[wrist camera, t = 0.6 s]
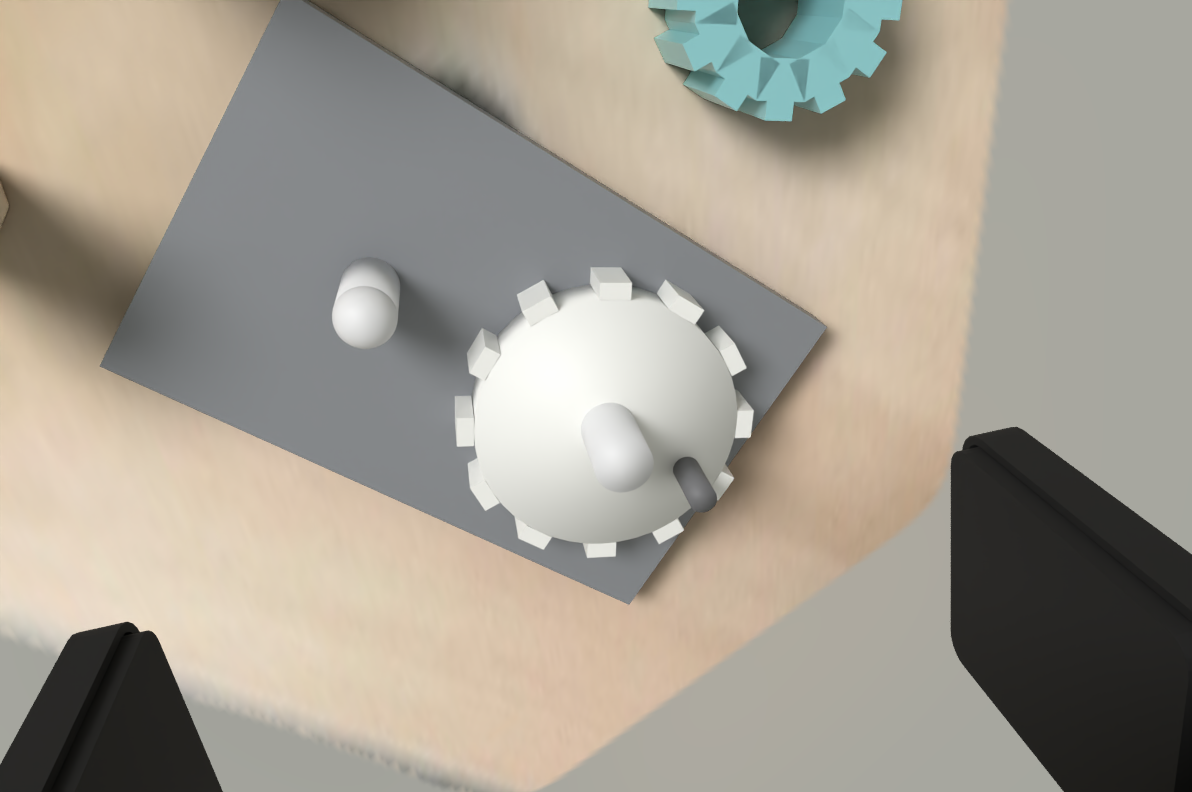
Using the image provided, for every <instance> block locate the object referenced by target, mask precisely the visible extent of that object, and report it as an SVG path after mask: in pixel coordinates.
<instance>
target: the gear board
mask: <svg viewBox="0 0 1192 792" xmlns="http://www.w3.org/2000/svg"><path fill="white" fill-rule="evenodd" d="M826 328H827V327H826V326H825V325H824V324H823V323H822V322H820V321H819V320H818V319H817V318H816V317H814V316H813V315H812V314H810V313H809V312H807V311H805V310H804V309H802V308H801V307H799V306H797V305H796V304H794V303H793V302H791V301H789V300H788V299H786V298H785V297H783V296H781V295H780V294H778V293H777V292H775V291H773V290H772V289H770V288H768V287H767V286H765V285H764V284H762V283H760V282H759V281H757V280H756V279H754V278H752V277H751V276H749V275H748V274H746V273H744V272H743V271H741V270H740V269H738V268H736V267H735V266H733V265H732V264H730V263H728V262H727V261H725V260H724V259H722V258H720V257H719V256H717V255H716V254H714V253H712V252H711V251H709V250H707V249H706V248H704V247H703V246H701V245H699V244H698V243H696V242H695V241H693V240H691V239H690V238H688V237H687V236H685V235H683V234H682V233H680V232H679V231H677V230H675V229H674V228H672V227H671V226H669V225H667V224H666V223H664V222H663V221H661V220H659V219H658V218H656V217H655V216H653V215H651V214H650V213H648V212H647V211H645V210H643V209H642V208H640V207H638V206H637V205H635V204H634V203H632V202H630V201H629V200H627V199H626V198H624V197H622V196H621V195H619V194H618V193H616V192H614V191H613V190H611V189H610V188H608V187H606V186H605V185H603V184H602V183H600V182H598V181H597V180H595V179H594V178H592V177H590V176H589V175H587V174H586V173H584V172H582V171H581V170H579V169H578V168H576V167H574V166H573V165H571V164H569V163H568V162H566V161H565V160H563V159H561V158H560V157H558V156H557V155H555V154H553V153H552V152H550V151H549V150H547V149H545V148H544V147H542V146H541V145H539V144H537V143H536V142H534V141H533V140H531V139H529V138H528V137H526V136H525V135H523V134H521V133H520V132H518V131H517V130H515V129H513V128H512V127H510V126H508V125H507V124H505V123H504V122H502V121H500V120H499V119H497V118H496V117H494V116H492V115H491V114H489V113H488V112H486V111H484V110H483V109H481V108H480V107H478V106H476V105H475V104H473V103H472V102H470V101H468V100H467V99H465V98H464V97H462V96H460V95H459V94H457V93H456V92H454V91H452V90H451V89H449V88H448V87H446V86H444V85H443V84H441V83H439V82H438V81H436V80H435V79H433V78H431V77H430V76H428V75H427V74H425V73H423V72H422V71H420V70H419V69H417V68H415V67H414V66H412V65H411V64H409V63H407V62H406V61H404V60H403V59H401V58H399V57H398V56H396V55H395V54H393V53H391V52H390V51H388V50H387V49H385V48H383V47H382V46H380V45H379V44H377V43H375V42H374V41H372V40H370V39H369V38H367V37H366V36H364V35H362V34H361V33H359V32H358V31H356V30H354V29H353V28H351V27H350V26H348V25H346V24H345V23H343V22H342V21H340V20H338V19H337V18H335V17H334V16H332V15H330V14H329V13H327V12H326V11H324V10H322V9H321V8H319V7H318V6H316V5H314V4H313V3H311V2H309V1H308V0H280V2H279V4H278V6H277V8H276V10H275V12H274V14H273V16H272V18H271V20H270V22H269V24H268V26H267V28H266V30H265V32H264V34H263V36H262V38H261V40H260V42H259V44H258V46H257V48H256V50H255V52H254V54H253V56H252V59H251V61H250V63H249V65H248V67H247V69H246V71H245V73H244V75H243V77H242V79H241V81H240V83H239V85H238V87H237V89H236V91H235V93H234V95H233V97H232V99H231V101H230V103H229V105H228V107H227V109H226V111H225V113H224V115H223V117H222V119H221V121H220V123H219V125H218V127H217V129H216V131H215V133H214V135H213V138H212V140H211V142H210V144H209V146H208V148H207V150H206V152H205V154H204V156H203V158H202V160H201V162H200V164H199V166H198V168H197V170H196V172H195V174H194V176H193V178H192V180H191V182H190V184H189V186H188V188H187V190H186V192H185V194H184V196H183V198H182V200H181V202H180V204H179V206H178V208H177V210H176V212H175V215H174V217H173V219H172V221H171V223H170V225H169V227H168V229H167V231H166V233H165V235H164V237H163V239H162V241H161V243H160V245H159V247H158V249H157V251H156V253H155V255H154V257H153V259H152V261H151V263H150V265H149V267H148V269H147V271H146V273H145V275H144V277H143V279H142V281H141V283H140V285H139V287H138V289H137V291H136V294H135V296H134V298H133V300H132V302H131V304H130V306H129V308H128V310H127V312H126V314H125V316H124V318H123V320H122V322H121V324H120V326H119V328H118V330H117V332H116V334H115V336H114V338H113V340H112V342H111V344H110V346H109V348H108V350H107V352H106V354H105V356H104V358H103V360H102V362H101V364H100V367H102V368H105V369H107V370H109V371H111V372H113V373H116V374H118V375H120V376H122V377H125V378H127V379H129V380H131V381H133V382H136V383H138V384H140V385H142V386H144V387H147V388H149V389H151V390H153V391H156V392H158V393H160V394H162V395H164V396H167V397H169V398H171V399H173V400H176V401H178V402H180V403H182V404H184V405H187V406H189V407H191V408H193V409H196V410H198V411H200V412H202V413H204V414H207V415H209V416H211V417H213V418H216V419H218V420H220V421H222V422H224V423H227V424H229V425H231V426H233V427H236V428H238V429H240V430H242V431H244V432H247V433H249V434H251V435H253V436H256V437H258V438H260V439H262V440H264V441H267V442H269V443H271V444H273V445H276V446H278V447H280V448H282V449H284V450H287V451H289V452H291V453H293V454H296V455H298V456H300V457H302V458H304V459H307V460H309V461H311V462H313V463H315V464H318V465H320V466H322V467H324V468H327V469H329V470H331V471H333V472H335V473H338V474H340V475H342V476H344V477H347V478H349V479H351V480H353V481H355V482H358V483H360V484H362V485H364V486H367V487H369V488H371V489H373V490H375V491H378V492H380V493H382V494H384V495H387V496H389V497H391V498H393V499H395V500H398V501H400V502H402V503H404V504H407V505H409V506H411V507H413V508H415V509H418V510H420V511H422V512H424V513H427V514H429V515H431V516H433V517H435V518H438V519H440V520H442V521H444V522H447V523H449V524H451V525H453V526H455V527H458V528H460V529H462V530H464V531H467V532H469V533H471V534H473V535H475V536H478V537H480V538H482V539H484V540H487V541H489V542H491V543H493V544H495V545H498V546H500V547H502V548H504V549H506V550H509V551H511V552H513V553H515V554H518V555H520V556H522V557H524V558H526V559H529V560H531V561H533V562H535V563H538V564H540V565H542V566H544V567H546V568H549V569H551V570H553V571H555V572H558V573H560V574H562V575H564V576H566V577H569V578H571V579H573V580H575V581H578V582H580V583H582V584H584V585H586V586H589V587H591V588H593V589H595V590H598V591H600V592H602V593H604V594H606V595H609V596H611V597H613V598H615V599H618V600H620V601H622V602H624V603H626V604H630V603H631V601H632V600H633V599H634V597H635V596H636V594H637V593H638V592H639V590H640V589H641V587H642V586H643V585H644V583H645V582H646V580H647V579H648V578H649V576H650V575H651V573H652V572H653V571H654V569H655V568H656V566H657V565H658V564H659V562H660V561H661V559H662V558H663V557H664V555H665V554H666V552H667V551H668V550H669V548H670V547H671V545H672V544H673V542H674V541H675V540H676V538H677V537H678V535H679V534H680V533H681V532H682V531H684V529H683V528H684V527H685V526H686V524H687V523H688V521H689V520H690V519H691V517H692V516H693V514H694V513H695V512H707V511H709V510H711V509H712V508H713V507H714V506H715V504H716V502H717V501H718V500H719V499H720V498H721V496H722V495H723V493H724V492H725V491H726V489H727V488H728V487H729V485H730V484H731V482H732V481H733V480H734V477H733V475H732V474H731V472H730V470H729V469H728V465H729V464H730V463H731V461H732V460H733V458H734V457H735V456H736V454H737V453H738V451H739V450H740V449H741V447H742V446H743V444H744V443H745V442H746V440H747V439H748V438H751V433H752V432H753V430H754V429H755V428H756V426H757V425H758V423H759V422H760V421H761V419H762V418H763V416H764V415H765V413H766V412H767V411H768V409H769V408H770V406H771V405H772V404H773V402H774V401H775V399H776V398H777V397H778V395H779V394H780V392H781V391H782V390H783V388H784V387H785V385H786V384H787V383H788V381H789V380H790V378H791V377H792V376H793V374H794V373H795V371H796V370H797V369H798V367H799V366H800V364H801V363H802V362H803V360H804V359H805V357H806V356H807V355H808V353H809V352H810V350H811V349H812V348H813V346H814V345H815V343H816V342H817V341H818V339H819V338H820V336H821V335H822V334H823V332H824V331H825V329H826Z"/></svg>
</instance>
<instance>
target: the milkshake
mask: <svg viewBox="0 0 1192 792" xmlns="http://www.w3.org/2000/svg"><path fill="white" fill-rule="evenodd" d="M8 208H9V204H8V201H7V198H6V195H5V193H4V190H3V187H2V184H1V181H0V229H1V226H2V223H3V221H4V218H5V216H6V213H7V210H8Z"/></svg>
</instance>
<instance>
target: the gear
mask: <svg viewBox="0 0 1192 792" xmlns="http://www.w3.org/2000/svg"><path fill="white" fill-rule="evenodd" d="M901 7H902V0H798V9H797V15H796V17H795V18H794V20H793V22H792V23H791V25H790V26H789V28H788V29H787V31H786V32H785V34H784V36H783V37H782V38H781V39H780V40H778V41H776V42H774V43H773V44H771V45H769V46H767V47H765V48H764V49H762V50H760V49H759V48H758V47H756V46H755V45H753V44H752V43H751V42H749V40H748V38H747V35H746V33H745V31H744V28H743V26H742V23H741V21H740V18H739V16H738V14H737V10H738V0H649V5H648V8H659V9H666V10H665V21H666V23H667V26H668V28H669V30H667V31H666V32H664V33H662V34H660V35H658V36H657V37H655V38H654V40H655V42H656V44H657V46H658V48H659V51H660V53H661V55H662V57H663V59H664V62H665V63H668V64H671V65H675V66H678V67H681V68H685V69H688V70H691V72H690V74H689V76H688V77H687V79H686V80H685V82H684V84H683V85H685V86H686V87H688V88H689V89H690V90H692V91H693V92H695V93H696V94H698V95H699V96H701V97H702V98H704V99H706V100H709V101H711V102H714V103H717V104H719V105H722V106H724V107H727V108H729V109H732V110H735V111H737V110H739V111H741V112H744V113H746V114H749V115H752V116H754V117H757V118H760V119H762V120H765V121H792V115H793V106H798V107H801V108H804V109H807V110H811V111H814V112H817V113H820V114H822V113H823V112H825V111H827V110H829V109H831V108H832V107H834V106H836V105H838V104H840V103H841V102H843V101H845V100H846V99H845V96H844V94H843V91H842V88H841V86H840V82H842V81H843V80H845V79H847V78H849V77H850V75H851V74H853V75H858V76H864V77H869V78H870V77H871V75H872V74H873V72H874V71H875V69H876V68H877V66H878V65H879V63H880V62H881V60H882V59H883V57H884V56H885V54H886V53H887V52H886V51H884V50H883V49H882V48H880V47H879V46H878V45H877V44H875V43H874V42H873V41H874V39H875V38H876V36H877V35H878V33H879V31H880V26H881V20H900V13H901Z"/></svg>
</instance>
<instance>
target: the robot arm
mask: <svg viewBox="0 0 1192 792" xmlns="http://www.w3.org/2000/svg"><path fill="white" fill-rule="evenodd" d="M951 637H952V642H953V646H954V649H955V651H956V653H957V656H958V658H959V660H960V661H961V663H962V664H963V665H964V667H965V668H966V669H967V670H968V672H969V673H970V674H971V676H973V678H974V679H975V681H976V682H977V683H978V684H979V686H980V687H981V688H982V689H983V691H984V692H985V693H986V694H987V696H988V697H989V698H990V699H991V701H992V702H993V703H994V704H995V706H996V707H997V708H998V710H999V711H1000V712H1001V713H1002V714H1003V716H1004V717H1005V718H1006V719H1007V721H1008V722H1009V723H1010V725H1011V726H1012V727H1013V728H1014V729H1015V731H1016V732H1017V733H1018V735H1019V736H1020V737H1021V738H1022V740H1023V741H1024V742H1025V743H1026V745H1027V746H1028V747H1029V748H1030V750H1031V751H1032V752H1033V753H1034V755H1035V756H1036V757H1037V758H1038V760H1039V761H1040V762H1041V764H1042V765H1043V766H1044V767H1045V769H1046V770H1047V771H1048V772H1049V774H1050V775H1051V776H1052V777H1053V779H1054V780H1055V781H1056V782H1057V784H1058V785H1059V786H1060V787H1061V789H1062V790H1063V791H1064V792H1192V554H1190V553H1189V552H1188V551H1186V550H1185V549H1184V548H1182V547H1181V546H1180V545H1178V544H1177V543H1176V542H1174V541H1173V540H1171V539H1170V538H1169V537H1167V536H1166V535H1165V534H1163V533H1162V532H1161V531H1159V530H1158V529H1157V528H1155V527H1154V526H1153V525H1151V524H1150V523H1148V522H1147V521H1146V520H1144V519H1143V518H1141V517H1140V516H1139V515H1138V514H1136V513H1135V512H1134V511H1132V510H1131V509H1129V508H1128V507H1127V506H1125V505H1124V504H1123V503H1121V502H1120V501H1119V500H1117V499H1116V498H1115V497H1113V496H1112V495H1111V494H1109V493H1108V492H1106V491H1105V490H1104V489H1102V488H1101V487H1100V486H1098V485H1097V484H1096V483H1094V482H1093V481H1091V480H1090V479H1089V478H1088V477H1086V476H1084V475H1083V474H1082V473H1081V472H1079V471H1078V470H1077V469H1075V468H1074V467H1073V466H1071V465H1070V464H1069V463H1067V462H1066V461H1064V460H1063V459H1062V458H1060V457H1059V456H1058V455H1056V454H1055V453H1054V452H1052V451H1051V450H1050V449H1048V448H1047V447H1046V446H1044V445H1043V444H1041V443H1040V442H1039V441H1037V440H1036V439H1035V438H1033V437H1032V436H1030V435H1029V434H1028V433H1027V432H1025V431H1024V430H1022V429H1020V428H1018V427H1010V428H1006V429H1002V430H997V431H992V432H987V433H983V434H978V435H974V436H970V437H968V438H967V439H966V440H965V442H964V445H963V450H962V451H957V452H956V453H954V454H953V457H952V460H951ZM0 792H223V791H222V789H221V786H220V784H219V782H218V780H217V777H216V775H215V772H214V770H213V768H212V765H211V763H210V760H209V758H208V756H207V753H206V751H205V749H204V746H203V744H202V742H201V739H200V737H199V735H198V732H197V730H196V727H195V725H194V723H193V720H192V718H191V716H190V713H189V711H188V708H187V706H186V704H185V701H184V699H183V697H182V694H181V692H180V690H179V687H178V685H177V682H176V680H175V678H174V675H173V673H172V671H171V668H170V666H169V664H168V661H167V659H166V656H165V654H164V652H163V649H162V647H161V645H160V642H159V640H158V638H157V637H156V635H155V634H154V633H153V632H152V631H144V632H139V630H138V628H137V627H136V626H135V625H134V624H133V623H130V622H124V623H120V624H115V625H111V626H106V627H101V628H97V629H92V630H88V631H83V632H79V633H76V634H73V635H72V636H71V637H70V639H69V640H68V641H67V643H66V645H65V647H64V649H63V650H62V652H61V654H60V656H59V658H58V660H57V662H56V663H55V665H54V667H53V669H52V671H51V673H50V674H49V676H48V678H47V680H46V682H45V684H44V685H43V687H42V689H41V691H40V693H39V695H38V697H37V699H36V700H35V702H34V704H33V706H32V707H31V709H30V711H29V713H28V715H27V717H26V719H25V720H24V722H23V724H22V726H21V728H20V729H19V731H18V733H17V735H16V737H15V739H14V741H13V743H12V744H11V746H10V748H9V750H8V752H7V754H6V755H5V757H4V759H3V761H2V763H1V764H0Z"/></svg>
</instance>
